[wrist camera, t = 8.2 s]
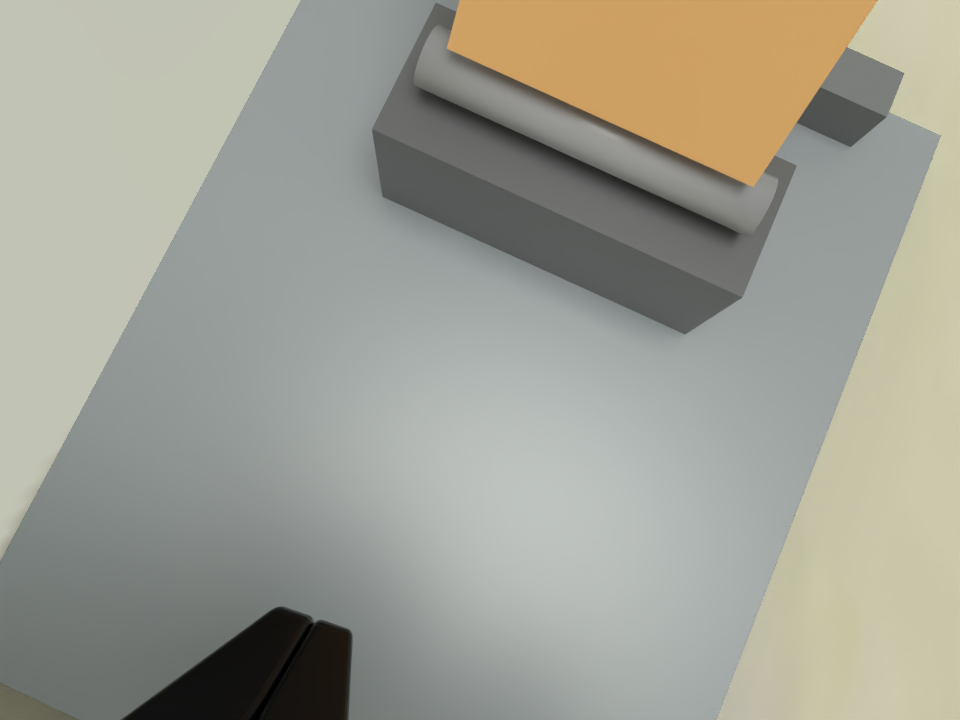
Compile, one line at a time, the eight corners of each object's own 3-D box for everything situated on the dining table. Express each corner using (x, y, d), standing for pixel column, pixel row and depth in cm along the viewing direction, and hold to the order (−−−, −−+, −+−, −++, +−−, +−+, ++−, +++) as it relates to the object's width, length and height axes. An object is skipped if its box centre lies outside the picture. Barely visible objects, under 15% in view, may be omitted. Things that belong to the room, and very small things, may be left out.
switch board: (608, 945, 20) (668, 1094, 15) (-25, 650, 21) (-175, 699, 16) (915, 154, 24) (1049, 59, 19) (369, -92, 24) (353, -253, 19)
